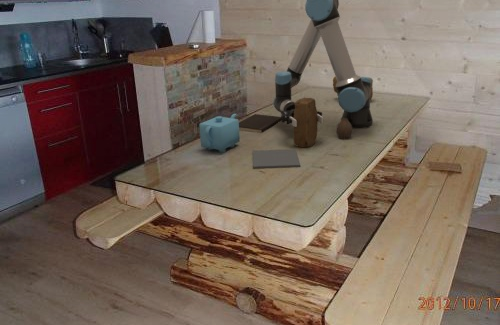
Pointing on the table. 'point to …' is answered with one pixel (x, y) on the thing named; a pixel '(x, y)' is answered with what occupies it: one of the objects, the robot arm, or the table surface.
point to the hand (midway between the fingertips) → (309, 122)
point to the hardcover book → (259, 123)
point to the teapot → (219, 133)
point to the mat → (275, 158)
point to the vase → (344, 129)
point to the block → (305, 122)
